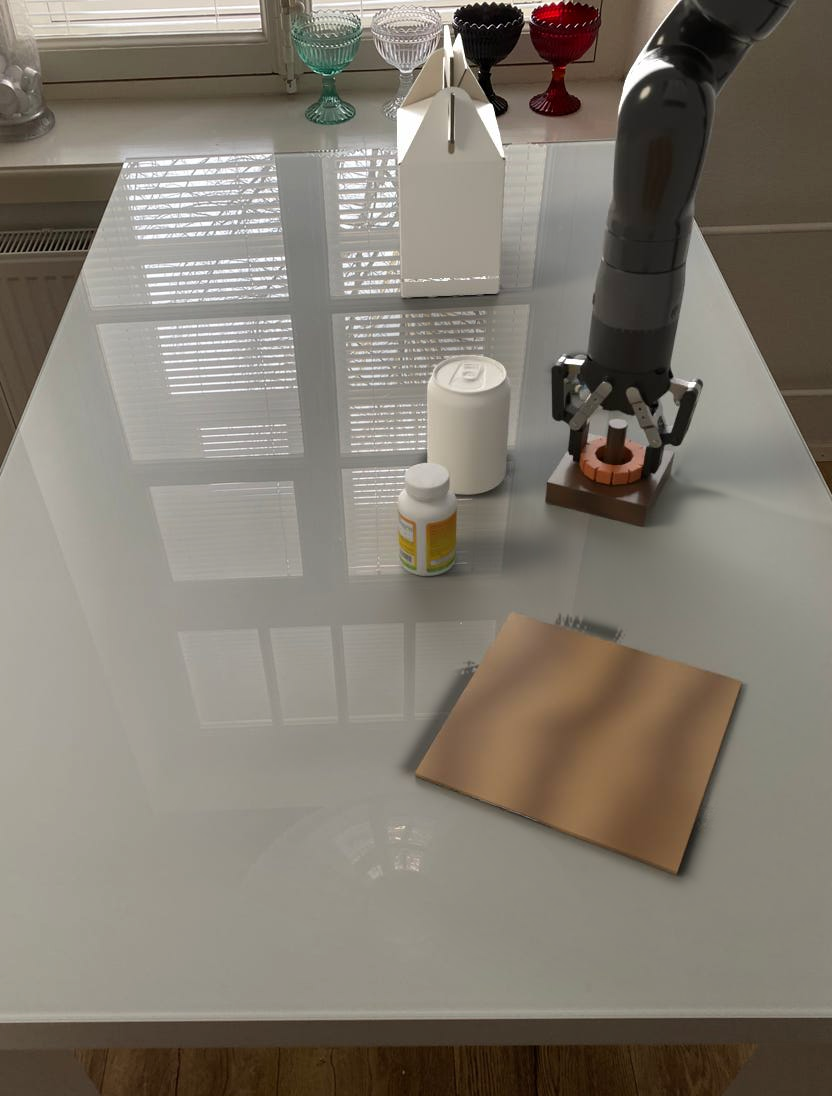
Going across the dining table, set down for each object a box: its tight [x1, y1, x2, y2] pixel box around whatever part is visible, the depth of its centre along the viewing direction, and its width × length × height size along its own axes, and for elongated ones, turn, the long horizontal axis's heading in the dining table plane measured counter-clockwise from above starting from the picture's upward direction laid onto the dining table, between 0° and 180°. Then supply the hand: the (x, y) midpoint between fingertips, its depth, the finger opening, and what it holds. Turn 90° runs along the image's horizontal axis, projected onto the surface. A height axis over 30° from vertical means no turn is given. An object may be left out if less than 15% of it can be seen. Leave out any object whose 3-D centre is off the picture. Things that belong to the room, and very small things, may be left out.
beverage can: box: [426, 354, 512, 496], centre depth 100 cm, size 8×8×12 cm
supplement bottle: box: [397, 462, 458, 577], centre depth 91 cm, size 5×5×10 cm
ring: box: [579, 436, 645, 485], centre depth 99 cm, size 6×6×1 cm
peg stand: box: [544, 418, 676, 528], centre depth 98 cm, size 10×10×8 cm
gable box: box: [396, 25, 507, 297], centre depth 132 cm, size 22×13×28 cm, turn 179°
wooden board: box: [414, 611, 743, 876], centre depth 78 cm, size 20×20×1 cm
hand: (612, 465), depth 99 cm, fingers closed on ring, 6 cm apart
